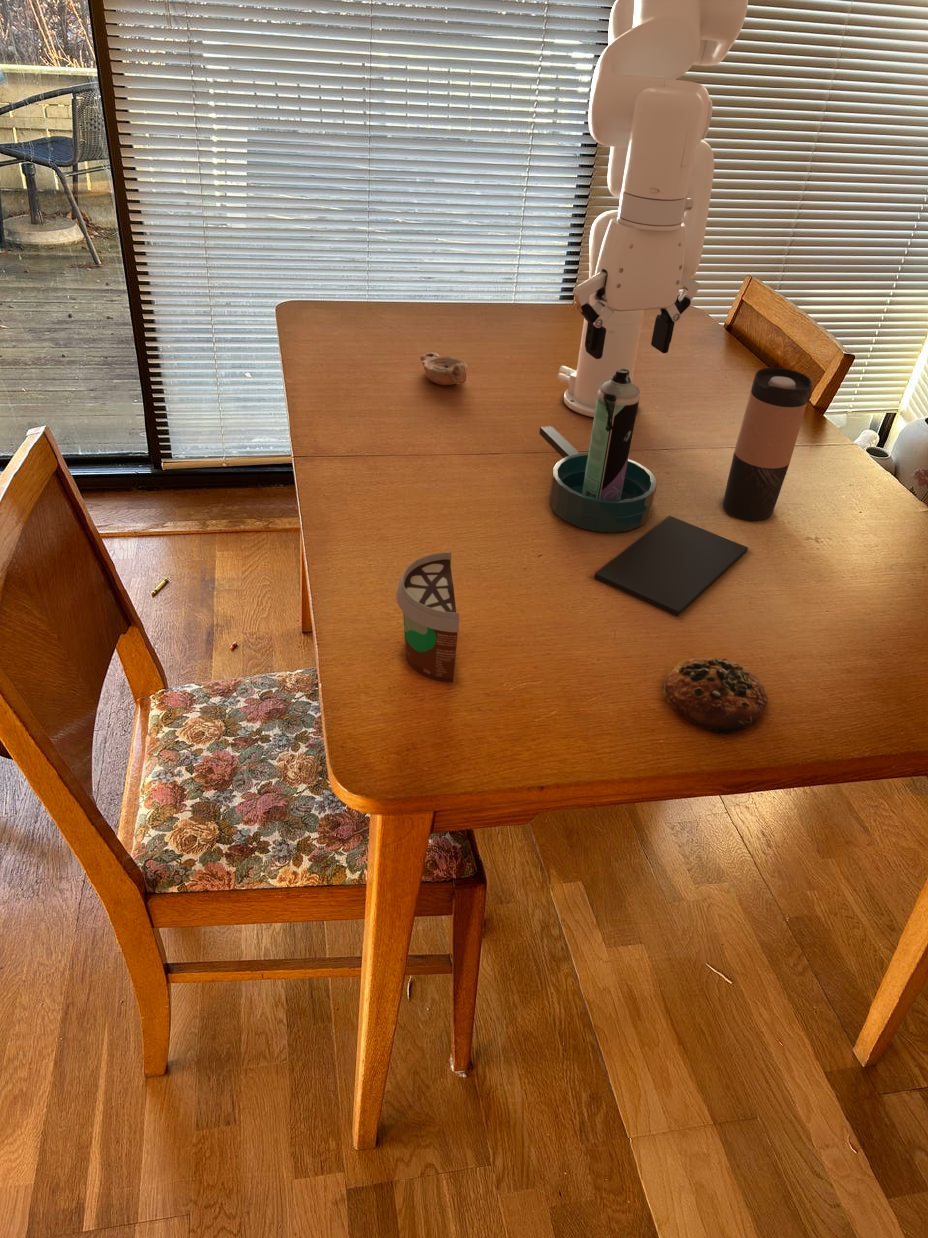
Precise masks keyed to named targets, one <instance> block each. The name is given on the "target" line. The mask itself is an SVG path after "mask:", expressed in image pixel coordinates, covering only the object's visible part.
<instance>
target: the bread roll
mask: <svg viewBox="0 0 928 1238" xmlns="http://www.w3.org/2000/svg"><path fill="white" fill-rule="evenodd" d="M663 684H664V687H663V690H662V691H663V695H664V697H665V699H666V701H667V703H668V704H669V706H670V707H671V708H672V709H673V711H674V712H676V713H677V714H678V715H680V716H682V717H683V718H684V719H685V720H687V721H689V722H690V723H692V724H695V726H698V727H700V728H703V729H704V730H706V731H709V732H710V733H713V734H718V735H724V734H727V735H729V734H734V733H737V732H741V731H744V730H746V728H749V727H750V726H752V725H753V724H755V723H756V721H757V720H759V718H760V717H761V715H762V714H763V713H764V712H765V710H766V707H767V705H768V701H769V697H768V691H767V689H766V687H765V685H764V684H763V683H762V681H761V680H760V678H759V677H758V676H757V675H755V674H754V673H753V672H752V671H751V670H750V669H749V668H747V667H744V666H743V665H742V664H740V663H739V662H735V661H733V660H730V659H728V658H722V659H718V658H708V657H696V658H695V657H694V658H690V659H685V660H683V661H680V662H678V663H676V665H675V666H674V667H671V668H670V669H669V670H668V671H667V675H666V677H665V678H664V681H663Z"/></svg>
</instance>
